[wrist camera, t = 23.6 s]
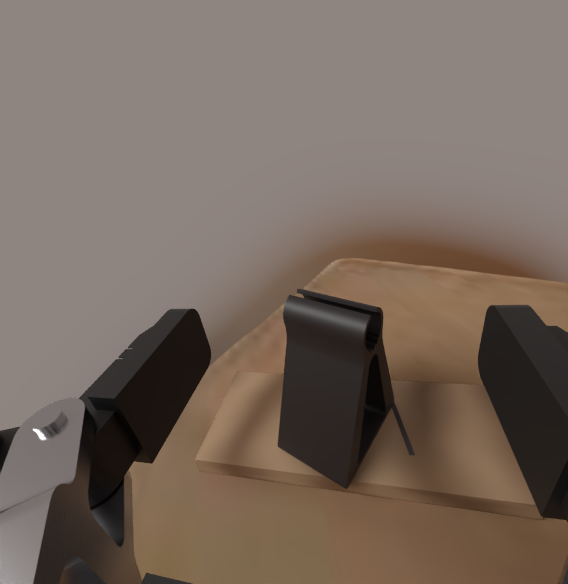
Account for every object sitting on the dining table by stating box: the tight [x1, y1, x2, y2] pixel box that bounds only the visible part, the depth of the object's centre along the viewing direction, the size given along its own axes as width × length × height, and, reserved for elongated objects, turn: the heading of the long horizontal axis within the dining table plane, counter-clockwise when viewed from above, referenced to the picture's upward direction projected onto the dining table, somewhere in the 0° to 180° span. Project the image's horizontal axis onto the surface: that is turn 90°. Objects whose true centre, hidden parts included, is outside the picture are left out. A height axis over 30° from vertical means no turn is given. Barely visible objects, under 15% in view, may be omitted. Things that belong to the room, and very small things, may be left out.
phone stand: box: [278, 289, 394, 489], centre depth 23 cm, size 9×6×12 cm, turn 142°
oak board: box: [195, 372, 543, 520], centre depth 27 cm, size 24×10×2 cm, turn 78°
